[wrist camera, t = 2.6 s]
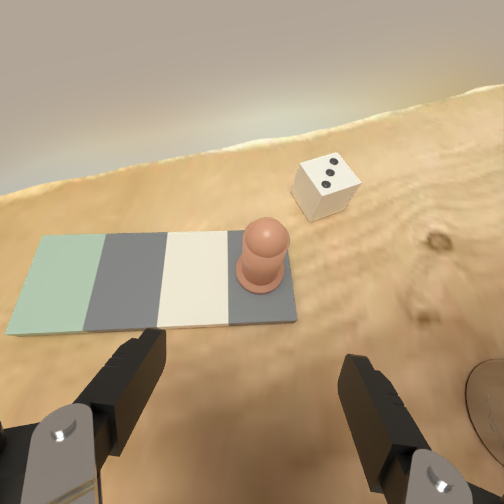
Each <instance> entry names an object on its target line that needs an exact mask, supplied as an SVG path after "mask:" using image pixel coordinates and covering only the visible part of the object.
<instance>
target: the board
mask: <svg viewBox="0 0 504 504" xmlns="http://www.w3.org/2000/svg"><path fill="white" fill-rule="evenodd" d="M244 231H245V230H241V231H200V232H159V233H118V234H77V235H43V236H42V238H41V241H40V243H39V246H38V249H37V251H36V254H35V256H34V259H33V262H32V264H31V267H30V270H29V272H28V275H27V277H26V280H25V283H24V285H23V288H22V290H21V293H20V296H19V298H18V301H17V304H16V306H15V309H14V311H13V314H12V317H11V319H10V322H9V324H8V327H7V330H6V332H5V335H11V336H19V337H20V336H40V335H60V334H80V333H100V332H120V331H139V330H145V329H146V328H148V327H149V328H157V329H179V328H199V327H219V326H239V325H258V324H278V323H294V322H296V321H297V314H296V306H295V299H294V291H293V284H292V277H291V269H290V262H289V255H288V250H287V252H286V255H285V257H284V260H283V264H284V276H283V279H282V281H281V283H280V284H279V286H278V287H277V288H276V289H275V290H274V291H272V292H270V293H268V294H263V295H258V294H253V293H250V292H248V291H246V290H245V289H244V288H243V287H242V286H241V285H240V283H239V282H238V279H237V276H236V264H237V261H238V259H239V257H240V256H241V254H242V247H243V233H244Z"/></svg>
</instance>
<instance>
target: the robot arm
mask: <svg viewBox="0 0 504 504" xmlns="http://www.w3.org/2000/svg"><path fill="white" fill-rule="evenodd" d="M165 362H166V330H165V329H157V328H149V327H148V328H146V329H145V331H144V332H143V333H142V335H141V336H140V337H139V339H136V338H131V339H130V340H128V341H127V342H125V343H124V344H122V345H121V346H120V347H119V348H118V349H117V350H116V352H115V353H114V354H113V355H112V358H110V359H109V360H108V361H107V363H106V364H105V366H104V367H102V369H101V370H100V371H99V372H98V373H97V375H96V376H95V377H94V378H93V379H92V381H91V382H90V383H89V384H88V385H87V387H86V388H85V389H84V390H83V392H82V393H81V394H80V395H79V396H78V398H77V399H76V400H75V401H74V402H73V403H72V404H69V405H66V406H63V407H61V408H59V409H57V410H55V411H53V412H52V413H50V414H49V415H48V416H46V417H45V418H44V419H43V420H42V421H41V422H39V423H35V424H29V425H23V426H18V427H12V428H7V429H3V427H2V424H1V422H0V504H103V496H102V481H101V468H102V466H103V464H104V462H105V461H106V459H107V457H108V455H111V456H118V457H120V455H121V453H122V451H123V449H124V447H125V445H126V443H127V441H128V439H129V437H130V435H131V433H132V431H133V429H134V427H135V425H136V423H137V421H138V419H139V417H140V415H141V413H142V411H143V409H144V407H145V406H146V404H147V402H148V400H149V398H150V396H151V394H152V392H153V390H154V388H155V386H156V384H157V382H158V380H159V378H160V376H161V374H162V372H163V369H164V366H165ZM338 395H339V398H340V401H341V404H342V407H343V410H344V413H345V416H346V419H347V422H348V425H349V428H350V431H351V434H352V437H353V440H354V443H355V446H356V449H357V452H358V455H359V458H360V461H361V464H362V467H363V470H364V473H365V476H366V479H367V482H368V485H369V488H370V491H371V492H376V493H383V494H384V495H385V498H386V501H387V503H388V504H504V495H503V496H502V497H499V496H497V495H495V494H493V493H491V492H488V491H486V490H484V489H482V488H480V487H477V486H475V485H473V484H471V483H469V482H467V481H466V480H465V479H464V477H463V476H462V475H461V473H460V472H459V471H458V470H457V469H456V468H455V467H454V466H453V465H452V464H451V463H450V462H449V461H448V460H446V459H445V458H444V457H442V456H441V455H439V454H437V453H435V452H433V451H432V450H431V448H430V446H429V445H428V443H427V441H426V440H425V438H424V437H423V435H422V433H421V432H420V430H419V428H418V427H417V425H416V423H415V422H414V420H413V418H412V417H411V415H410V413H409V412H408V410H407V408H406V407H404V403H403V402H402V400H401V398H400V397H399V396H398V393H397V392H396V390H395V388H394V387H393V385H392V384H391V382H390V381H389V380H388V379H387V378H386V377H385V376H384V375H383V374H382V373H381V372H380V371H377V370H374V368H373V366H372V365H371V363H370V361H369V359H368V358H367V357H366V356H361V355H353V354H347V355H346V357H345V360H344V363H343V366H342V369H341V373H340V376H339V379H338ZM466 397H467V405H468V410H469V413H470V417H471V420H472V422H473V425H474V427H475V429H476V431H477V433H478V435H479V437H480V438H481V440H482V441H483V443H484V444H485V446H486V447H487V449H488V450H489V451H490V452H491V453H492V455H493V456H494V457H495V458H496V459H497V460H498V461H499V462H500V463H501V464H502V465H503V466H504V359H500V360H489V361H486V362H483V363H481V364H480V365H478V366H477V367H476V368H475V369H474V370H473V372H472V373H471V375H470V377H469V380H468V383H467V393H466Z"/></svg>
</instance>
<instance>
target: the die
mask: <svg viewBox="0 0 504 504" xmlns="http://www.w3.org/2000/svg"><path fill="white" fill-rule="evenodd" d="M360 185H361V182H360V180H359V179H358V178H357V177H356V175H355V174H354V173H353V172H352V170H351V169H350V168H349V166H348V165H347V164H346V163H345V161H344V160H343V159H342V158H341V156H340V155H339V154H338V153H337V152H336V153H332V154H329V155H325V156H322V157H319V158H315V159H312V160H308V161H305V162H302V163H299V167H298V170H297V173H296V177H295V180H294V184H293V187H292V191H291V194H292V195H293V197H294V199H295V200H296V202H297V203H298V205H299V207H300V208H301V210H302V211H303V213H304V215H305V216H306V218H307V220H308V221H309V223H310V222H313V221H315V220H318V219H321V218H324V217H327V216H329V215H332V214H335V213H338V212H341V211H343V210H344V209H345V207H346V206H347V204H348V203H349V201H350V200H351V198H352V197H353V195H354V194H355V192H356V191H357V189H358V188H359V186H360Z"/></svg>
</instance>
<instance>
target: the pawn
mask: <svg viewBox="0 0 504 504" xmlns="http://www.w3.org/2000/svg"><path fill="white" fill-rule="evenodd" d="M289 244H290V238H289V234H288V232H287V230H286V229H285V227H284V226H283V225H282V224H281V223H280V222H279V221H277V220H275V219H273V218H267V217H266V218H260V219H257V220H256V221H254V222H252V223H250V224H249V225H248V226H247V227H246V229H245V231H244V233H243V247H242V254H241V256H240V257H239V259H238V261H237V264H236V276H237V279H238V282H239V283H240V285H241V286H242V287H243V288H244V289H245V290H246V291H248V292H250V293H253V294H258V295H263V294H268V293H270V292H272V291H274V290H275V289H276V288H277V287H278V286H279V284H280V283H281V281H282V279H283V276H284V264H283V260H284V257H285V255H286V252H287V250H288V247H289Z"/></svg>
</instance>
